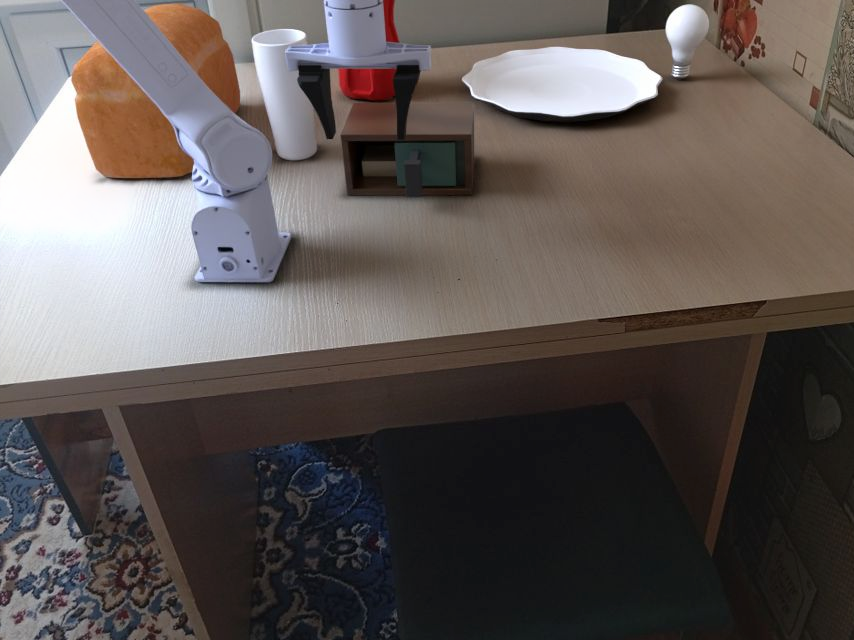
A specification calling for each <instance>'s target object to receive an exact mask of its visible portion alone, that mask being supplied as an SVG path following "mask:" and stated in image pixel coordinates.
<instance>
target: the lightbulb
mask: <svg viewBox="0 0 854 640" xmlns="http://www.w3.org/2000/svg"><path fill="white" fill-rule="evenodd" d="M709 20H710V19H709V16H708V14H707V13H706V11H705V10H704V9H703V8H702V7H701V6H698V5H696V4H690V3H689V4H683V5H679V6H678V7H677V8H675V9H674V10H673V11H672V12H671V13H670V14H669V16H668V18H667V19H666V23H665V36H666V39H667V41H668V43H669V45H670V47H671V57H672V67H671V76H672V77H673V78H674V79H676V80H678V81H680V80H683V79H686V78H687V77H689V76H690V68H691V63H692V60H693V59H694V56H695V55H696V50H697V49H698V48H699V46H701V44H702V43H703V42H704V41H705V39H706V38H707V36H708V33H709V29H710V21H709Z"/></svg>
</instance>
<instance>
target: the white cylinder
mask: <svg viewBox="0 0 854 640" xmlns="http://www.w3.org/2000/svg"><path fill="white" fill-rule="evenodd" d="M302 45H309V41H308V36H307V34H306V32H305V31H303V30H300V29H299V30H298V29H295V28H293V29H291V28H279V29H278V28H277V29H270V30H265V31H262V32H261V31H260V32H259V33H257V34H254V35H253V36H252V37H251V47H252V56H253V60H254V67H255V72H256V76H257V81H258V84H259V88H260V92H261V95H262V99H263V102H264V106H265V110H266V114H267V117H268V121H269V125H270V128H271V134H272V138H273V140H274V147H275V151H276V153H277V155H278V156H279V157H280V158H281V159H283V160H286V161H302V160H306V159H309V158H311V157H312V156H314V155H315V154H316V153H317V151H318V142H317V134H316V117H315V109H314V107H313V106H312V104H311V102H310V101H309V99H308V98H307V96H306V95H305V93H304V92H303V91H302V89H301V88H300V87H299V84H298V81H297V78H298V77H299V70H298V71H288V69H287V62H286V56H285V51H286V50H287V49H288V47H289V46H302Z"/></svg>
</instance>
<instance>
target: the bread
mask: <svg viewBox="0 0 854 640" xmlns="http://www.w3.org/2000/svg"><path fill="white" fill-rule="evenodd" d="M143 10H144V11H145V12H146V14H147V15H148V16H149V17H150V18H151V20H152V21H153V22H154V23H155V24H156V26H157V27H158V28H159V29H160V30H161V32H162V33H163V34H164V35H165V36H166V38H167V39H168V40H169V41H170V42H171V44H172V45H173V46H174V47H175V48H176V50H177V51H178V52H179V53H180V55H181V56H182V57H183V58H184V59H185V61H186V62H187V63H188V64H189V65H190V67H191V68H192V69H193V70H194V71H195V73H196V74H197V75H198V76H199V77H200V79H201V80H202V81H203V82H204V83H205V85H206V86H207V87H208V88H209V89H210V90H211V91H212V92H213V93H214V94H215V95H216V96H217V97H218V98H219V99H220V100H221V101H222V102H223V103H224V104H226V105H227V106H228V107H229V108H230V109H231V110H232V111H233V112H234V114H237V112H238V110H239V108H240V107H241V89H240V83H239V79H238V74H237V70H236V69H237V68H236V63H235V58H234V54H233V52H232V50H231V48H230V46H229V43H228V42H227V40H226V39H225V38H224V36H223V31H222V27H221V25H220V23H219V21H218V20H216V19H215V18H214V17H213V16H211V15H209V14H208V13H207V12H206V11H203V10H202V9H201V8H197V7H193V6H189V5H186V4H183V3H178V2H176V3H163V4H156V5H155V4H154V5H153V6H151V7H147V8H145V9H143ZM70 81H71V84H72V86H73V88H74V91H75V93H76V95H75V98H74V103H75V104H74V105H75V111H76V117H77V120H78V124H79V126H80V129H81V132H82V136H83V138H84V142H85V144H86V147H87V150H88V152H89V154H90V155H89V156H90V158H91V160H92V164H93V165H94V168H95V170H96V171H97V172H99V174H101V175H102V176H103V177H106V178H112V179H157V178H159V179H160V178H176V177H184V176H186V175H188V174H192V172H193V166H194V159H193V158H192V157H190V156H189V155H187V154H186V153H185V152H184V151H183V150H182V148H181V147H180V145H179V143H178V141H177V137H176V133H175V130H174V128H173V125H172V124H171V123H170V121H169V120H168V119H167V118H166V117H165V116H164V115H163V113H162V112H161V111H160V109H159V108H158V106H157V105H156V104H155V103H154V102H153V101H152V100H151V99H150V98H149V97H148V95H147V94H146V93H145V92H144V91H143V90H142V89H141V88H140V87H139V86H138V84H137V83H136V82H135V81H134V80H133V79H132V78H131V77H130V76H129V75H128V74H127V72H126V71H125V70H124V69H123V68H122V67H121V66H120V65H119V64H118V63H117V62H116V60H115V59H114V58H113V57H112V56H111V55H110V54H109V53H108V52H107V51H106V49H105V48H104V47H103V46H102V45H101V44H100V43H99V42H98V41H97V40H96V41H95V43H94V44H93V45H92V46H91V47H90V48H89V49H88V51H86V53H84V55H82V57H81V58H80V59H79V60H78V61H77V63H75V64H74V66H73V69H72V74H71V77H70Z"/></svg>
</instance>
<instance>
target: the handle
mask: <svg viewBox="0 0 854 640" xmlns="http://www.w3.org/2000/svg"><path fill="white" fill-rule="evenodd" d="M394 145H395V158H396V171H397V184H398V186H406V195H405V196H406V198H421V197H423V195H422V193H423V189H422V186H456V184H457V182H456V146H455V141H395V143H394Z"/></svg>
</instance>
